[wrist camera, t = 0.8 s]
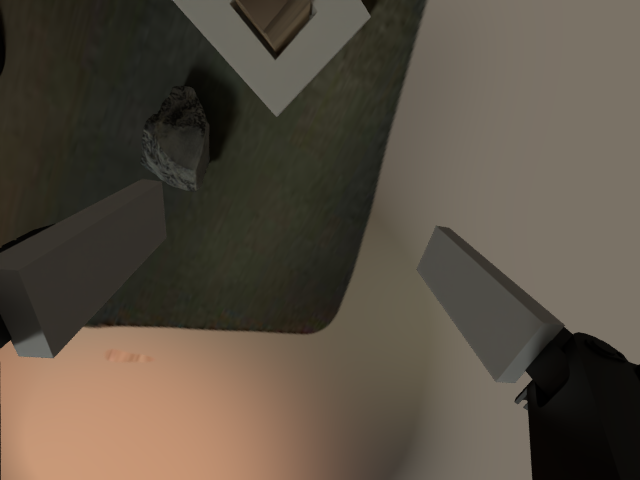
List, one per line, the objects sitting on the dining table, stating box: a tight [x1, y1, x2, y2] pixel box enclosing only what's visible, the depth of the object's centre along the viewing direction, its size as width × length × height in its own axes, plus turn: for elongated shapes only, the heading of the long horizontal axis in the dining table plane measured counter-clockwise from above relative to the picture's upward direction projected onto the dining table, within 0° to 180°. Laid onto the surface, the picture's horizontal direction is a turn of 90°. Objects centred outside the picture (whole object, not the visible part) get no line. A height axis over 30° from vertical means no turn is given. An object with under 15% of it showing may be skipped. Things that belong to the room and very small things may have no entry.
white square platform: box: [173, 0, 371, 117], centre depth 28 cm, size 14×14×4 cm
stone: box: [141, 86, 210, 192], centre depth 32 cm, size 10×10×10 cm
